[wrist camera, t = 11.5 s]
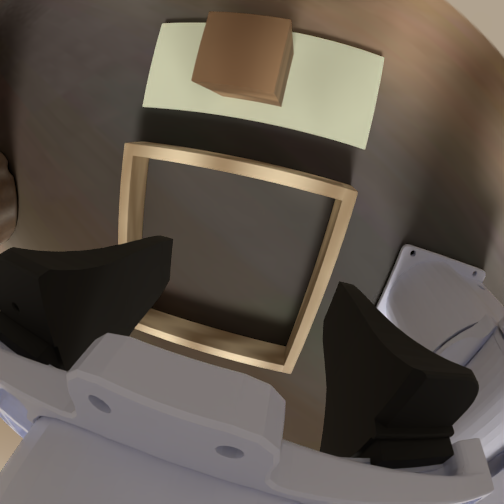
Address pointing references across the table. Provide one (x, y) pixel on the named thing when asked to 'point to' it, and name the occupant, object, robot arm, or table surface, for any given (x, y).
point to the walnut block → (245, 56)
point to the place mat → (296, 93)
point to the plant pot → (7, 201)
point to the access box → (343, 193)
